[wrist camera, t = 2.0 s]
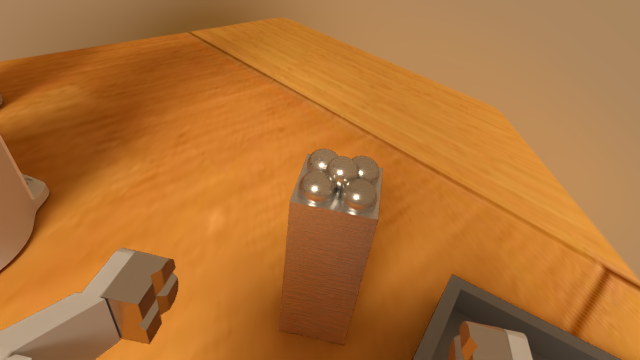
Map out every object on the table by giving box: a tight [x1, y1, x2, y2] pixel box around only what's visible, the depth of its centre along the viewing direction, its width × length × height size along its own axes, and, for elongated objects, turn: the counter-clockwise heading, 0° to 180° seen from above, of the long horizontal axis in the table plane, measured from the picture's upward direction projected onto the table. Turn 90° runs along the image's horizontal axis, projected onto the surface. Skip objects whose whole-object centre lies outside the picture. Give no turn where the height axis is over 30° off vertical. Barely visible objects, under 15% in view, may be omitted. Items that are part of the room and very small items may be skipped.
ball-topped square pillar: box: [279, 149, 383, 345], centre depth 27 cm, size 5×5×15 cm
